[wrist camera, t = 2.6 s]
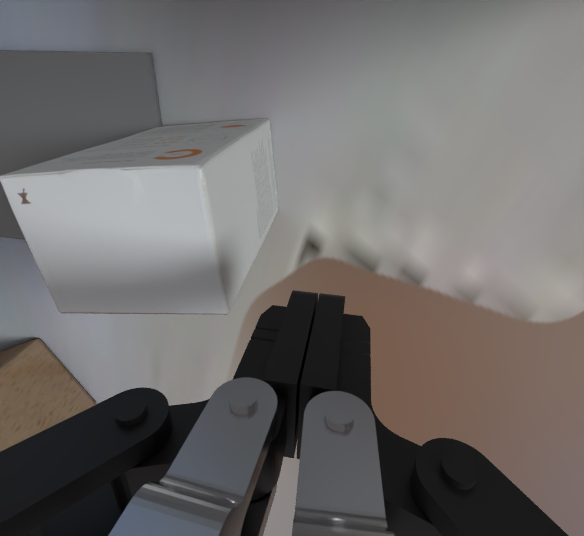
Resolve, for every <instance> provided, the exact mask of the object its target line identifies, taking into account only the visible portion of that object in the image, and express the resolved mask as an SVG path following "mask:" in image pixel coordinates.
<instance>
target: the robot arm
mask: <svg viewBox="0 0 584 536" xmlns="http://www.w3.org/2000/svg"><path fill="white" fill-rule="evenodd" d="M344 303H345V296H339V295H330V294H320V295H319V299H318V293H312V292H303V291H294V290H293V291H292V294H291V296H290V299H289V302H288V305H287V307H283V306H274V305H273V306H271V307H270V308H269V309H267V310H266V311H265V312H264V313H263V314H261V316H260V318H259V320H258V323H257V325H256V328H255V330H254V332H253V334H252V336H251V340H250V341H249V343H248V346H247V348H246V350H245V352H244V355H243V357H242V359H241V362H240V364H239V366H238V368H237V371H236V373H235V375H234V378H233V380H231V381H228V382H226V383H224V384H222V385H221V386H220V387H218V388H217V389H216V390H215V392H214V393H213V395H212V396H211V398H210V399H208V400H205V401H202V402H197V403H190V404H181V405H172V406H169V405H168V401H167V399H166V397H165V396H164V395H163V394H162V393H161V392H159V391H157V390H155V389H151V388H135V389H130V390H127V391H124V392H121V393H119V394H117V395H115V396H113V397H111V398H109V399H107V400H105V401H103V402H101V403H99V404H97V405H95V406H92V407H90V408H88V409H86V410H84V411H82V412H80V413H78V414H76V415H74V416H72V417H70V418H68V419H66V420H64V421H62V422H60V423H58V424H56V425H54V426H52V427H50V428H48V429H45V430H43V431H41V432H39V433H37V434H35V435H33V436H31V437H29V438H27V439H25V440H23V441H21V442H19V443H17V444H15V445H13V446H11V447H9V448H7V449H5V450H3V451H1V452H0V536H263V533H264V530H265V527H266V523H267V520H268V516H269V513H270V510H271V506H272V503H273V500H274V496H275V493H276V488H277V481H278V477H279V474H280V470H281V465H282V461H283V456H285V457H290V458H294V454H295V449H296V443H297V459H300V463H299V474H298V484H297V496H296V507H295V516H294V520H293V529H292V536H568V535H567V534H566V533H565V532H564V531H563V530H562V529H561V528H560V527H559V526H558V525H557V524H555V523H554V522H553V521H552V520H551V519H550V518H549V517H548V516H547V515H546V514H545V513H544V512H543V511H542V510H541V509H539V507H538V506H537V505H535V504H534V503H533V502H532V501H531V500H530V499H529V498H528V497H527V496H526V495H525V494H524V493H523V492H522V491H520V489H519V488H517V487H516V486H515V485H514V484H513V483H512V482H511V481H510V480H509V479H508V478H507V477H506V476H505V475H504V474H503V473H501V471H500V470H498V469H497V468H496V467H495V466H494V465H493V464H492V463H491V462H490V461H489V460H488V459H487V458H486V457H485V456H484V455H482V454H481V453H480V452H479V451H477V450H476V449H474V448H473V447H471V446H469V445H467V444H465V443H463V442H461V441H458V440H454V439H449V438H437V439H432V440H430V441H428V442H426V443H425V444H423V445H422V446H419V445H417V444H415V443H413V442H411V441H408V440H406V439H404V438H402V437H400V436H398V435H396V434H394V433H393V432H391V431H390V430H389V429H387V428H386V427H385V426H384V425H383V424H382V423H381V422H380V421H379V419H378V418H377V416H376V415H375V413H374V411H373V408H372V405H371V365H370V364H371V363H370V361H371V359H370V327H369V326H368V324H367V323H366V321H365V320H364V318H363V316H357V315H349V314H343V313H344ZM297 439H298V442H297Z"/></svg>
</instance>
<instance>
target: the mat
mask: <svg viewBox="0 0 584 536" xmlns="http://www.w3.org/2000/svg"><path fill="white" fill-rule="evenodd" d="M155 127H162V122H161V114H160V107H159V100H158V93H157V86H156V78H155V71H154V64H153V57H152V53H122V52H66V51H11V50H0V176H1V175H4V174H7V173H10V172H13V171H17V170H20V169H23V168H26V167H29V166H33V165H36V164H39V163H42V162H46V161H49V160H52V159H56V158H59V157H62V156H65V155H68V154H72V153H75V152H78V151H82V150H85V149H88V148H92V147H95V146H99V145H102V144H106V143H109V142H113V141H116V140H119V139H122V138H125V137H128V136H131V135H134V134H137V133H140V132H143V131H146V130H150V129H153V128H155ZM0 236H1V237H10V238H19V239H25V237H24V235H23V233H22V231H21V228H20V226H19V224H18V222H17V219H16V217H15V215H14V213H13V210H12V208H11V206H10V203H9V201H8V198H7V196H6V194H5V191H4V189H3V186H2V184H1V182H0Z"/></svg>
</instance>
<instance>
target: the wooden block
mask: <svg viewBox="0 0 584 536" xmlns="http://www.w3.org/2000/svg"><path fill="white" fill-rule="evenodd" d="M95 405H96V402H95V401H94V400H93V398H92V397H91V396H90V395H89V394H88V393H87V392H86V391H85V389H84V388H83V387H82V386H81V385H80V384H79V383H78V381H77V380H76V379H75V378H74V377H73V376H72V375H71V373H70V372H69V371H68V370H67V369H66V368H65V367H64V366H63V364H62V363H61V362H60V361H59V360H58V359H57V358H56V356H55V355H54V354H53V353H52V352H51V351H50V350H49V348H48V347H47V346H46V345H45V344H44V343H43V342H42V341H41V340H40V339H34V340H31V341H28V342H26V343H23V344H20V345H18V346H15V347H13V348H10V349H7V350H5V351H2V352H0V452H1V451H3V450H5V449H7V448H9V447H11V446H13V445H15V444H17V443H19V442H21V441H23V440H25V439H27V438H29V437H31V436H33V435H35V434H37V433H39V432H41V431H43V430H45V429H48V428H50V427H52V426H54V425H56V424H58V423H60V422H62V421H64V420H66V419H68V418H70V417H72V416H74V415H76V414H78V413H80V412H82V411H84V410H86V409H88V408H90V407H92V406H95Z"/></svg>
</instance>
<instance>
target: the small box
mask: <svg viewBox="0 0 584 536" xmlns="http://www.w3.org/2000/svg"><path fill="white" fill-rule="evenodd" d="M0 182H1V184H2V186H3V189H4V191H5V194H6V196H7V198H8V201H9V203H10V206H11V208H12V210H13V213H14V215H15V217H16V219H17V222H18V224H19V226H20V228H21V231H22V233H23V235H24V237H25V239H26V242H27V244H28V246H29V248H30V250H31V253H32V255H33V257H34V259H35V261H36V263H37V265H38V268H39V270H40V272H41V274H42V276H43V278H44V280H45V283H46V285H47V287H48V289H49V291H50V293H51V295H52V297H53V299H54V301H55V303H56V306H57V308H58V310H59V312H60V313H108V314H224V315H227V314H228V313H229V311H230V309H231V307H232V305H233V303H234V301H235V299H236V297H237V295H238V293H239V291H240V289H241V287H242V284H243V282H244V280H245V278H246V276H247V274H248V272H249V270H250V268H251V266H252V264H253V262H254V260H255V258H256V255H257V253H258V251H259V249H260V247H261V245H262V243H263V241H264V239H265V237H266V235H267V233H268V231H269V229H270V227H271V225H272V222H273V220H274V218H275V216H276V214H277V212H278V200H277V190H276V181H275V171H274V161H273V151H272V141H271V131H270V122H269V119H250V120H236V121H223V122H210V123H197V124H185V125H173V126H163V127H155V128H153V129H150V130H146V131H143V132H140V133H137V134H134V135H131V136H128V137H125V138H122V139H119V140H116V141H113V142H109V143H106V144H102V145H99V146H95V147H92V148H88V149H85V150H82V151H78V152H75V153H72V154H68V155H65V156H62V157H59V158H56V159H52V160H49V161H46V162H42V163H39V164H36V165H33V166H29V167H26V168H23V169H20V170H17V171H13V172H10V173H7V174H4V175H1V176H0Z"/></svg>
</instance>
